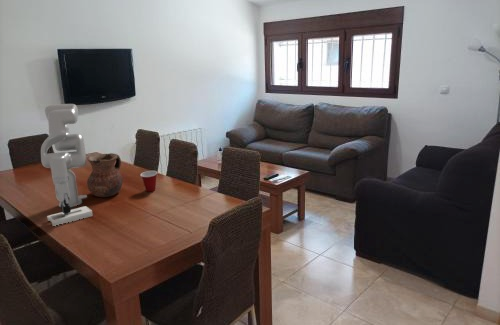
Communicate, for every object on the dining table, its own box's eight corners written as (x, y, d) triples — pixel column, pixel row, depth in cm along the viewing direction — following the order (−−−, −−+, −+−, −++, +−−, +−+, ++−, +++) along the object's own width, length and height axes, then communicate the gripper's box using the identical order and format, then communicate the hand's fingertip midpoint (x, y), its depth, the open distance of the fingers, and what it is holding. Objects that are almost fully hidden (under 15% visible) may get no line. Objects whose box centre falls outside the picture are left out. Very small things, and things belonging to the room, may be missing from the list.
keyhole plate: (86, 211, 210) (85, 206, 209) (92, 215, 203) (92, 210, 202) (47, 221, 197) (46, 216, 197) (53, 226, 190) (52, 221, 189)
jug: (111, 200, 226) (106, 161, 219) (81, 198, 230) (75, 160, 223) (130, 188, 247) (126, 152, 240) (102, 187, 251) (97, 151, 244)
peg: (70, 216, 202) (66, 195, 199) (72, 218, 199) (69, 198, 196) (61, 218, 199) (58, 197, 196) (64, 221, 196) (60, 200, 193)
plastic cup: (138, 191, 240) (136, 174, 237) (149, 187, 249) (148, 169, 246) (151, 194, 235) (149, 176, 232) (162, 189, 244) (160, 171, 241)
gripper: (48, 177, 197) (54, 209, 202) (57, 184, 185) (63, 218, 190) (63, 174, 202) (69, 205, 206) (73, 181, 190) (78, 214, 195)
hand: (66, 211), depth 198 cm, fingers closed on peg, 3 cm apart
